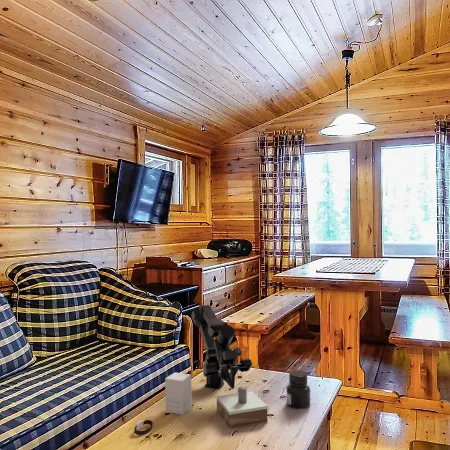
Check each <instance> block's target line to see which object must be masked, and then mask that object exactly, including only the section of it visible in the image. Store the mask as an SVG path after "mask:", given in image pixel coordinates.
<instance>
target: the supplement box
mask: <svg viewBox="0 0 450 450" xmlns="http://www.w3.org/2000/svg"><path fill="white" fill-rule="evenodd" d="M164 382H165V385H164V386H165V390H164V391H165V413H171V414H175V415H182V416H183V415H185V414H186V413H187V412H188V411H189V410H190V409H192V407H193V406H192V404H193V403H192V402H193V400H192V397H193V396H192V374H188V373H183V372H182V373H181V372H173V373H172V374H170V375H168V376H167V377H165V379H164Z"/></svg>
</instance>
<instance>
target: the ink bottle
mask: <svg viewBox="0 0 450 450" xmlns="http://www.w3.org/2000/svg"><path fill="white" fill-rule="evenodd" d="M288 377H289V378H288V379H289V380H288V381H289V384H288V385H286V405H287V406H288V407H290V408H292V409H297V410H304V409H307V408H309V407H310V406H311V388H310V386H309V385H308V373H307V371H303V370H292V371H289V372H288Z"/></svg>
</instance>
